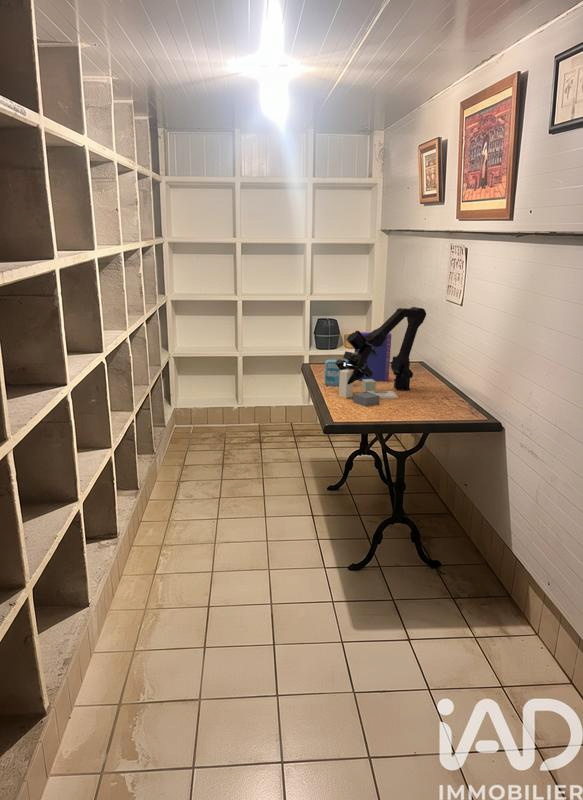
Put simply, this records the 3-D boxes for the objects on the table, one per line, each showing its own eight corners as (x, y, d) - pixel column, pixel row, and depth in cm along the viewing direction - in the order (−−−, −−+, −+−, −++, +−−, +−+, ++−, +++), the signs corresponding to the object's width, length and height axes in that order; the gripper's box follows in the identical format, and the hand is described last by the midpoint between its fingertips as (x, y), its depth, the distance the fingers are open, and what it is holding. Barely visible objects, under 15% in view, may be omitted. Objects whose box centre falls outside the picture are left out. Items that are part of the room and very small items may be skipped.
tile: (392, 393, 281) (392, 390, 281) (397, 398, 272) (397, 395, 272) (366, 393, 280) (367, 390, 279) (371, 398, 271) (371, 395, 271)
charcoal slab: (366, 400, 269) (366, 391, 268) (379, 404, 263) (379, 395, 262) (353, 402, 264) (353, 394, 263) (365, 407, 258) (366, 398, 257)
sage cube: (371, 389, 288) (371, 379, 287) (375, 391, 284) (376, 381, 282) (361, 389, 287) (362, 379, 286) (365, 392, 282) (366, 381, 281)
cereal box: (387, 379, 309) (390, 332, 303) (388, 381, 305) (391, 334, 298) (353, 378, 310) (355, 331, 303) (353, 380, 305) (356, 333, 299)
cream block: (345, 394, 276) (346, 369, 273) (352, 396, 273) (353, 370, 270) (338, 396, 274) (339, 370, 270) (345, 398, 270) (347, 372, 267)
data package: (325, 385, 293) (326, 361, 290) (324, 383, 297) (325, 359, 294) (349, 386, 294) (351, 361, 291) (348, 383, 298) (349, 359, 295)
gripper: (339, 341, 277) (320, 368, 272) (369, 347, 263) (351, 375, 259) (350, 356, 284) (332, 383, 279) (380, 363, 270) (362, 391, 266)
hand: (344, 382), depth 271 cm, fingers closed on cream block, 4 cm apart
